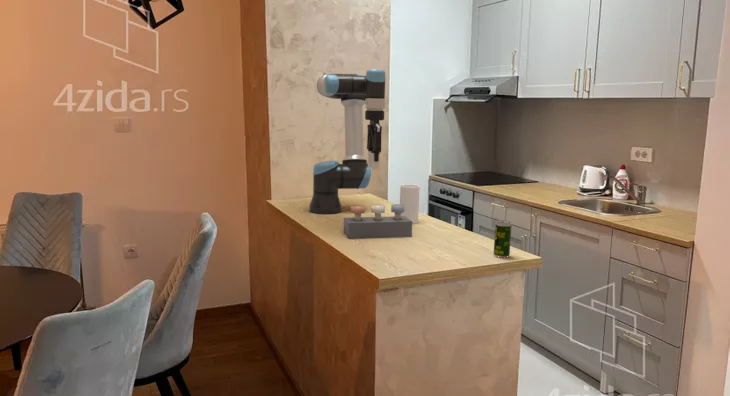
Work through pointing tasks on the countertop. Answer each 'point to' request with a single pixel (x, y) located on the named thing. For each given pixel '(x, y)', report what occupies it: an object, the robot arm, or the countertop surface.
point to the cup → (410, 201)
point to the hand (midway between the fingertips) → (373, 168)
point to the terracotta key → (357, 211)
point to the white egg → (377, 211)
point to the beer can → (502, 238)
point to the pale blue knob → (397, 210)
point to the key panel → (377, 227)
